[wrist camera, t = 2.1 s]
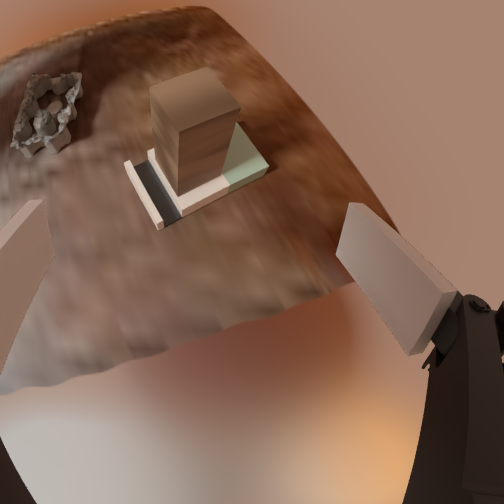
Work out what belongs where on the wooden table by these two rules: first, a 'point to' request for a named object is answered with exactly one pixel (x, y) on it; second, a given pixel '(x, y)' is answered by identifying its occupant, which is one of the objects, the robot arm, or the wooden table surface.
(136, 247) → the wooden table surface
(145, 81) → the wooden table surface
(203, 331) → the wooden table surface
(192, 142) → the walnut block
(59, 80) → the egg carton
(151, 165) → the board
